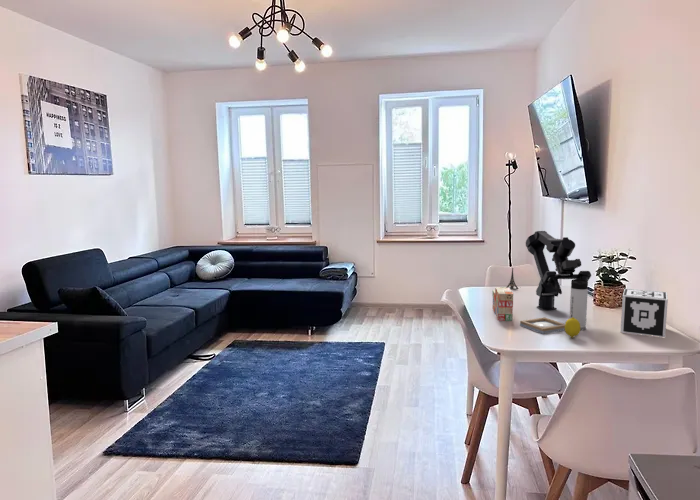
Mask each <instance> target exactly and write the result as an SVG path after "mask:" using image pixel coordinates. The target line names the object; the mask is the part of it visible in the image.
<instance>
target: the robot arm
mask: <svg viewBox="0 0 700 500" xmlns="http://www.w3.org/2000/svg"><path fill="white" fill-rule="evenodd" d="M525 247H526V248H527V251H528V252H529V253H530V254H531V255H533V259H534V262H535V264H536V268H537V270H538V275H539V278H540V279H539V282H538V286H537V288H536V290H535V294H536V296H538V297H539V298H538V305H537V306H536V308H538V309H540V310H544V311H551V310H557V307H555V298H556V297H557V298H558V297H559V295H562V294H563V291H562V288H561V286H560V282H559V280H574V279H577V278H579V279H582V280H586V281H588V282H589V281H590V279H591V277H592V274H591V271H589V270H579V272H578V273H576V274H575V272H576V269H578V268H580V267H581V266H582V261H581V259H580V258H575V259H569V257H570V256H571V255H572V253H573V251H574V249H575V248H576V243H575V242H574V241H573V240H571V239H569V237H562V238H555V237H554V236H552V235H550V234H549V233H548V232H547V231H546V230H536V231H535V232H534V233H533V234H530V236H528V237H527V239H526V240H525ZM545 247H546V248H545ZM544 249H546V250H547V252H548V253H549V254H550V253H551V254H552V253H553V255H552V258H551V261H552V262H554V265H555V268H554V269H555V270H551V271H550V268H549V265H548V262H547V259H546V256H545V253H544Z"/></svg>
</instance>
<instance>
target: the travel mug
mask: <svg viewBox="0 0 700 500" xmlns="http://www.w3.org/2000/svg"><path fill="white" fill-rule="evenodd" d="M570 281H571V283H570V298H569V299H570V300H569V318H568V319H570V318H572V317H574V318H575V319H577V320H578V321H579V323H580V331H584V330H586V329H587V311H588V294H589V293H588V291H589V288H588V287H589V280H588V281H586V280H582V279H579V278H577V279H571V280H570Z"/></svg>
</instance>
